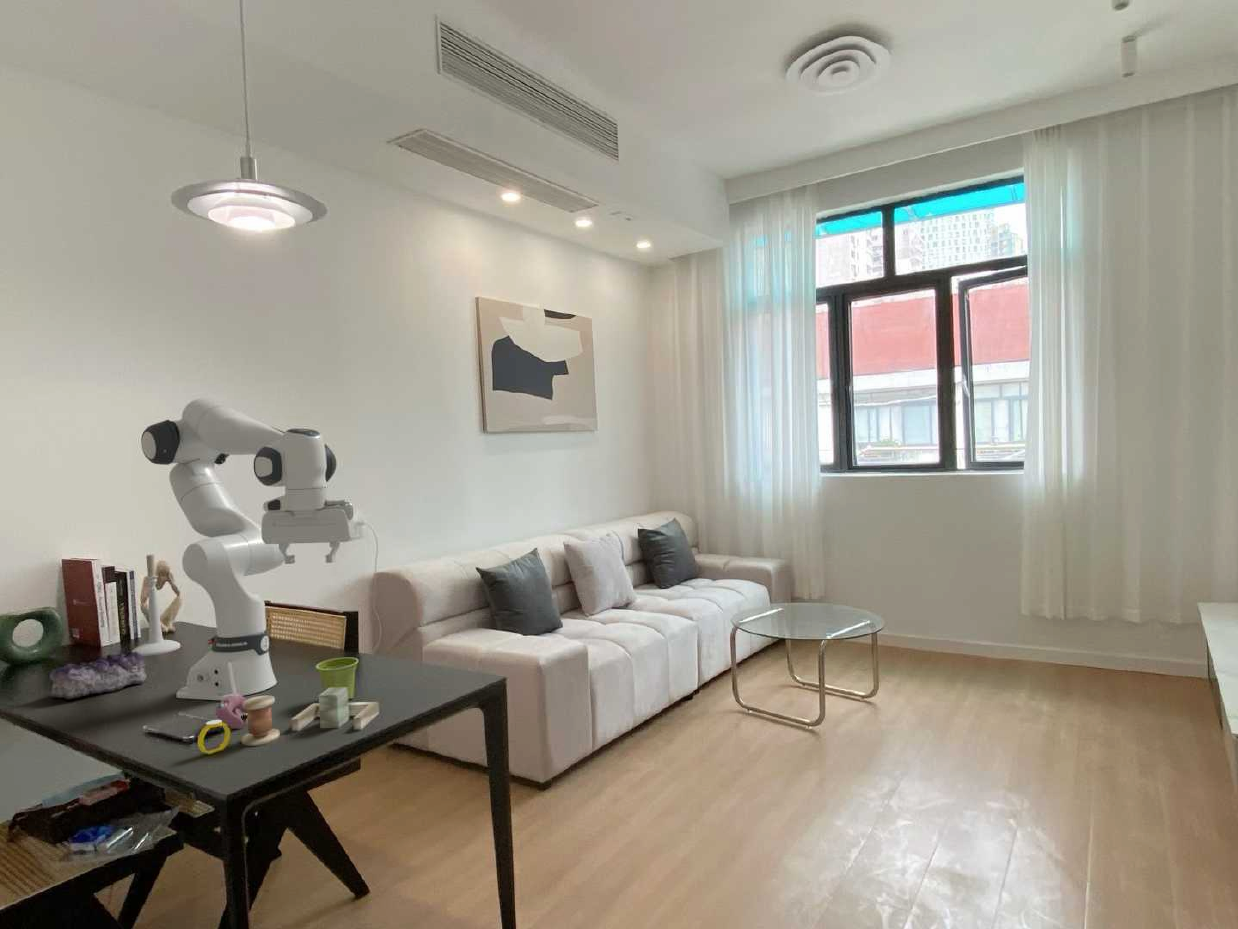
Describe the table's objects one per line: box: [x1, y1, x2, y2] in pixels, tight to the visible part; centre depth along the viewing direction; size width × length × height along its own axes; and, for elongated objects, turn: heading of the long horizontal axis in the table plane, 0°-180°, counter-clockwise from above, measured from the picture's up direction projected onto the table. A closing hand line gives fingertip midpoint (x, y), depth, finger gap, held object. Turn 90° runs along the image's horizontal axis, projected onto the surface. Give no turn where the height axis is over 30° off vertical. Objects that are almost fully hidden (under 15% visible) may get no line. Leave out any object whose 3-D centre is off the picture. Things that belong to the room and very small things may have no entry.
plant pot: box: [315, 656, 359, 701], centre depth 175 cm, size 9×9×9 cm
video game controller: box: [215, 694, 247, 730], centre depth 163 cm, size 10×5×7 cm, turn 6°
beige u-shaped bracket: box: [290, 701, 380, 732], centre depth 160 cm, size 15×10×2 cm, turn 86°
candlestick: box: [131, 554, 181, 657], centre depth 229 cm, size 13×13×30 cm
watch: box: [197, 719, 231, 755], centre depth 147 cm, size 6×3×6 cm, turn 151°
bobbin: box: [241, 694, 281, 747], centre depth 152 cm, size 7×7×8 cm
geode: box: [49, 651, 148, 700], centre depth 191 cm, size 20×12×10 cm, turn 137°
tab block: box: [318, 687, 350, 729], centre depth 159 cm, size 4×5×7 cm
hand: (310, 563), depth 166 cm, fingers open, 8 cm apart
